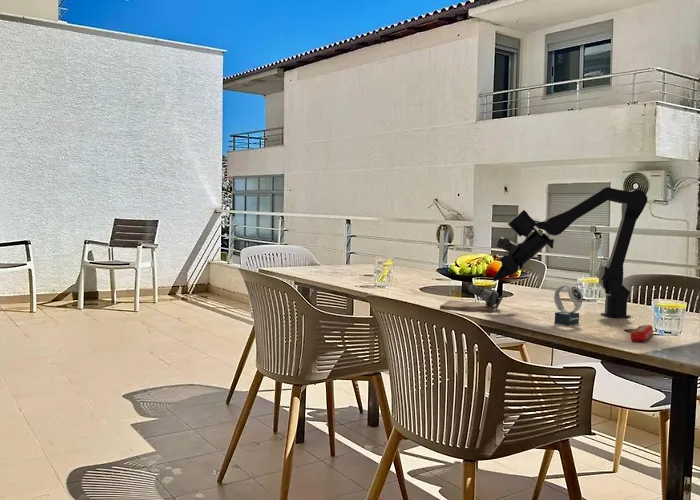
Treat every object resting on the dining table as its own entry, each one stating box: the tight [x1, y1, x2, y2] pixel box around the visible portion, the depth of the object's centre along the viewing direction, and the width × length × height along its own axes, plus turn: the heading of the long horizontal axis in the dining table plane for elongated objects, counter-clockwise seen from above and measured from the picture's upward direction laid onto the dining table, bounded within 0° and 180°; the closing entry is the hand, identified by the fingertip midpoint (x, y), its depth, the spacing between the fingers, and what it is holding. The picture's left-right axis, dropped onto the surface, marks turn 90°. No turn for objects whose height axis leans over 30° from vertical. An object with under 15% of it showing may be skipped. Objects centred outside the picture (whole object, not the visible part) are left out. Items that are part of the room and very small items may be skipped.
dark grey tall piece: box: [466, 283, 505, 310], centre depth 215 cm, size 6×6×12 cm
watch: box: [553, 284, 584, 326], centre depth 190 cm, size 6×8×11 cm
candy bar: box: [630, 324, 654, 342], centre depth 171 cm, size 16×4×3 cm, turn 148°
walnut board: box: [439, 299, 496, 313], centre depth 217 cm, size 16×14×1 cm
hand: (493, 280), depth 214 cm, fingers closed
